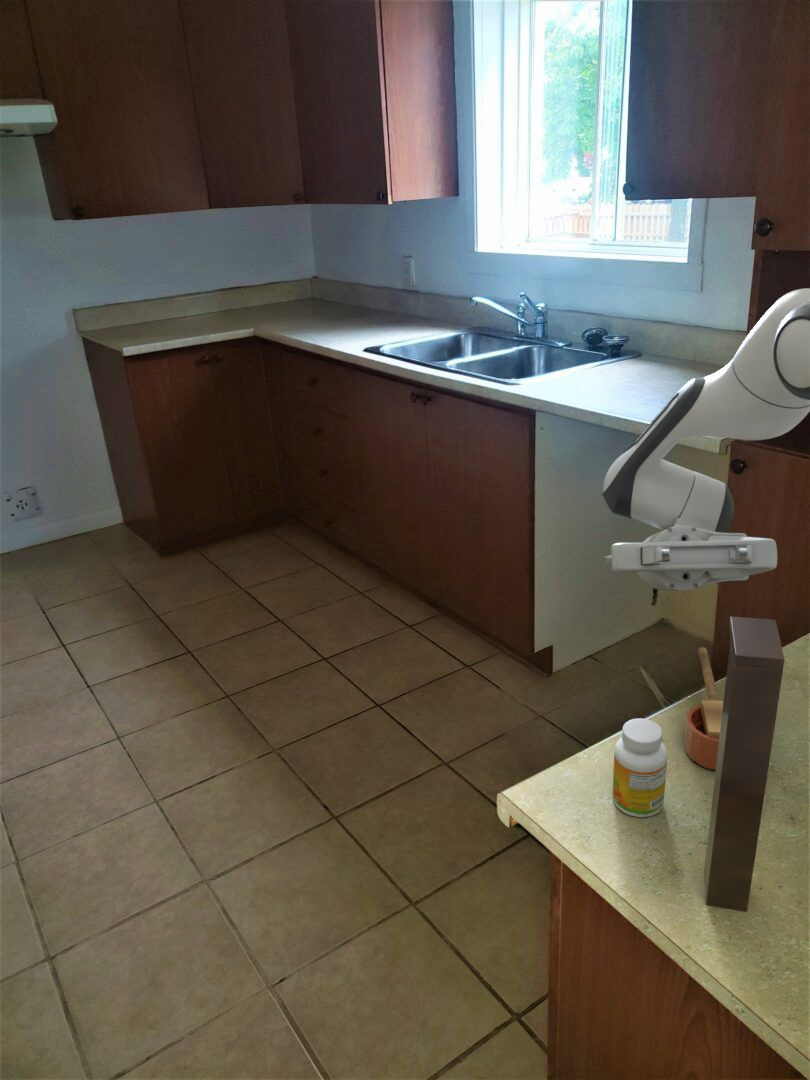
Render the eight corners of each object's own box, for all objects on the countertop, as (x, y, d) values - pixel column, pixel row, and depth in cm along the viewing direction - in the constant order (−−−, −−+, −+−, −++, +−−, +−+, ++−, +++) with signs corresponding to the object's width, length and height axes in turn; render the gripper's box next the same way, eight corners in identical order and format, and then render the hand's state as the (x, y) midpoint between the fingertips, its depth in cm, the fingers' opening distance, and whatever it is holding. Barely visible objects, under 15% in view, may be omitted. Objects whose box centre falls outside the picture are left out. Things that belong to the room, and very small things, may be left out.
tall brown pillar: (741, 861, 81) (775, 619, 69) (747, 911, 75) (784, 659, 63) (703, 856, 82) (730, 616, 70) (705, 905, 76) (735, 655, 64)
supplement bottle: (611, 781, 92) (614, 712, 88) (661, 785, 91) (667, 715, 87) (612, 816, 87) (616, 744, 83) (665, 821, 86) (671, 748, 82)
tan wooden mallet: (735, 742, 91) (737, 732, 90) (707, 741, 92) (708, 731, 91) (713, 653, 103) (715, 644, 102) (689, 653, 104) (690, 643, 103)
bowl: (745, 737, 97) (749, 706, 95) (750, 777, 91) (755, 745, 89) (683, 730, 99) (686, 700, 97) (684, 769, 93) (687, 737, 91)
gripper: (601, 537, 113) (614, 529, 99) (755, 533, 110) (791, 524, 97) (603, 582, 112) (616, 581, 99) (757, 580, 110) (793, 578, 96)
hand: (704, 553), depth 98 cm, fingers open, 8 cm apart
